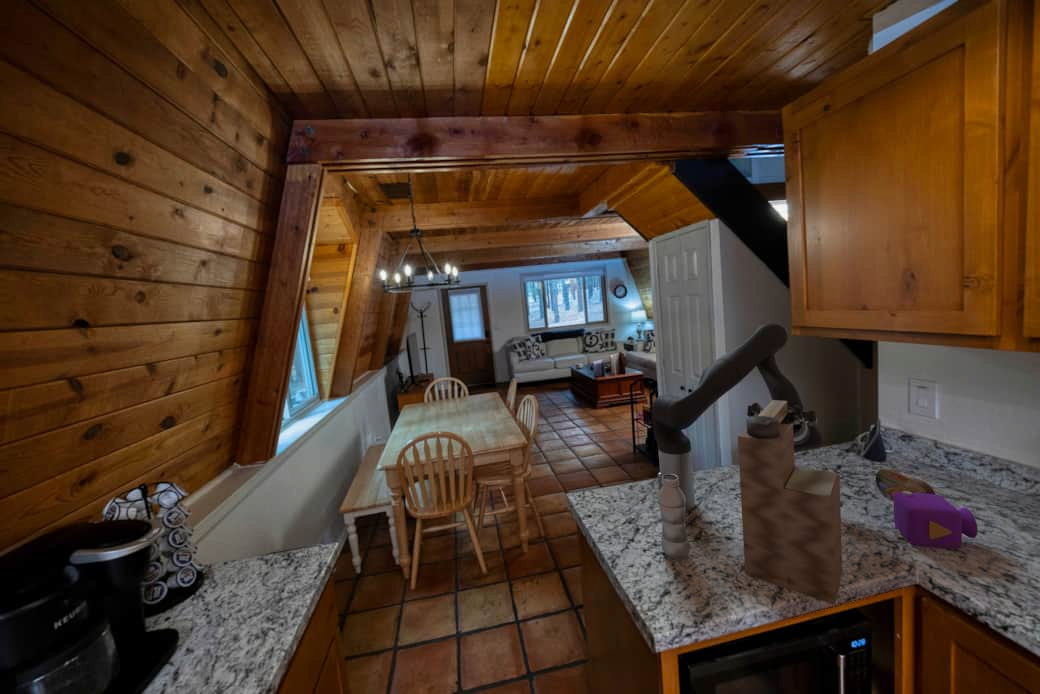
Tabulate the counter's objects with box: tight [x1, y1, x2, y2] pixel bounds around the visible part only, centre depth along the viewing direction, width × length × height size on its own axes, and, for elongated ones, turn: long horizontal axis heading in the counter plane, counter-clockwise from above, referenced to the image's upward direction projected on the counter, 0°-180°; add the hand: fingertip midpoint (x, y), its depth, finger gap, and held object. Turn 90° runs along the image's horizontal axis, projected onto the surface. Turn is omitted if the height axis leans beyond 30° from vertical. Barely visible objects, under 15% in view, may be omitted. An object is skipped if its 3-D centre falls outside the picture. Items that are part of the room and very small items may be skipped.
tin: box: [875, 468, 937, 502], centre depth 110 cm, size 15×3×8 cm, turn 1°
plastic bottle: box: [657, 474, 691, 561], centre depth 99 cm, size 6×7×20 cm
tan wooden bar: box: [745, 399, 788, 439], centre depth 92 cm, size 6×20×3 cm, turn 137°
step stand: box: [737, 423, 843, 606], centre depth 88 cm, size 16×12×32 cm
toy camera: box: [893, 491, 979, 550], centre depth 95 cm, size 11×14×10 cm
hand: (775, 408), depth 95 cm, fingers open, 8 cm apart
